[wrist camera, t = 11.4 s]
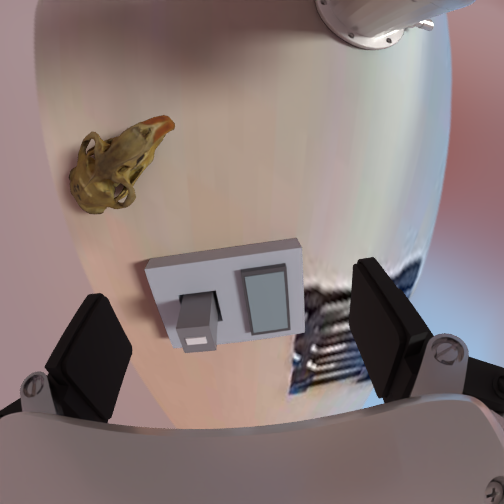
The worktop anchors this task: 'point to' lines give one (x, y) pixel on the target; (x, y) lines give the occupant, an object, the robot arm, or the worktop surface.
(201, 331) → the block
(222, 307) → the dock board
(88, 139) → the animal skull
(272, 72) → the worktop surface
